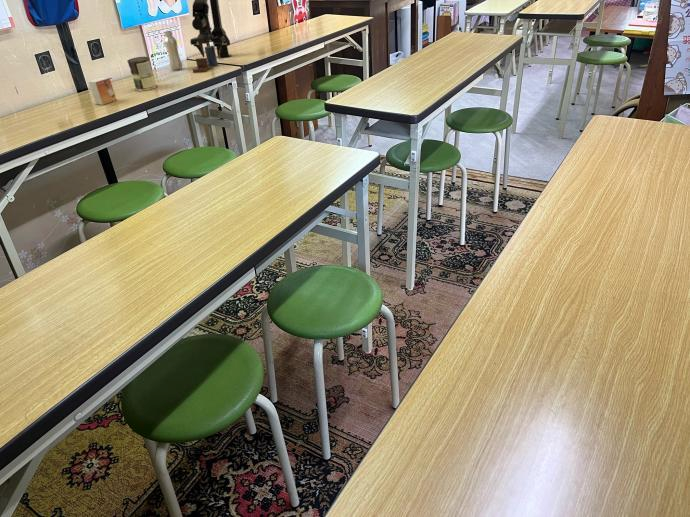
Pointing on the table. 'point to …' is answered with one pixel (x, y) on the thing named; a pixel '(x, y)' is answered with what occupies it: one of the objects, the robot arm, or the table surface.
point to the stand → (201, 65)
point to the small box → (102, 90)
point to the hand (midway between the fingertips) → (211, 56)
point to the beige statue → (172, 51)
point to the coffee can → (142, 73)
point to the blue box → (211, 56)
